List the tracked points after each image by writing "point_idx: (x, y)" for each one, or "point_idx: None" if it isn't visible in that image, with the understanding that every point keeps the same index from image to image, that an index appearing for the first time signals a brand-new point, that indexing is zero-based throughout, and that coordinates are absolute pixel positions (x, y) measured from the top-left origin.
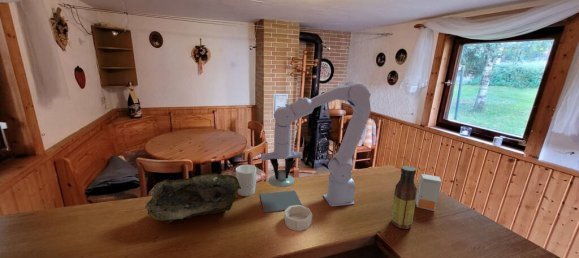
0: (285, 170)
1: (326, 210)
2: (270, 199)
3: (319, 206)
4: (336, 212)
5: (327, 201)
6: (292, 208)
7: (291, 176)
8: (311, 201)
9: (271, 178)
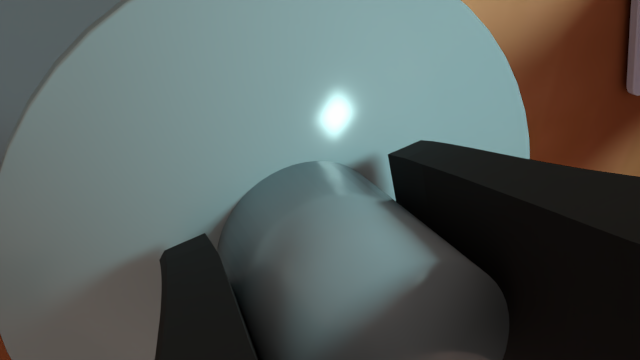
0: (497, 248)
1: (577, 145)
2: (28, 87)
3: (546, 99)
4: (629, 155)
5: (632, 22)
6: None
7: (502, 61)
8: (503, 24)
9: (59, 267)
